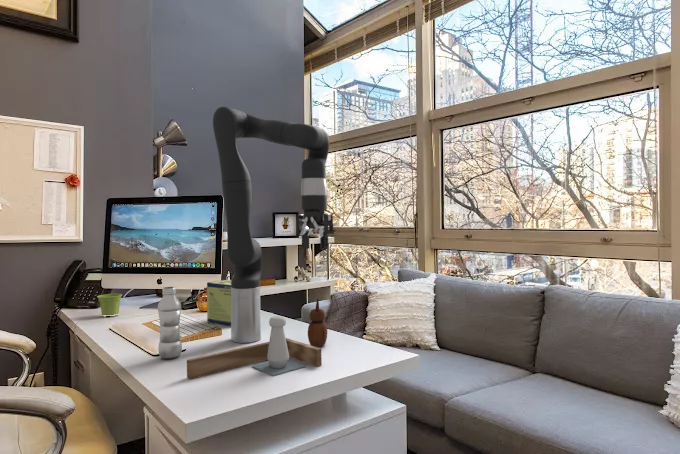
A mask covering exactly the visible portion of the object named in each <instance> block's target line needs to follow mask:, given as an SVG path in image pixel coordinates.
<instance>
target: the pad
mask: <svg viewBox="0 0 680 454" xmlns="http://www.w3.org/2000/svg"><path fill="white" fill-rule="evenodd" d="M251 368H253V369H255V370H257V371H259V372H263V373H265V374H267V375H270V376H272V377H275V376H279V375H283V374H286V373H290V372H293V371H296V370H299V369H303V368H306V366H305V365H304V364H300V363H297V362H295V361H292V360H290V359H289V360H288V362H287V364H286V366H285V367H283V368H280V369H279V368H272V367H270V365H269V362H268V361H265V362H263V363H262V362H261V363H259V364H254V365H251Z"/></svg>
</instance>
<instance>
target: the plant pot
mask: <svg viewBox="0 0 680 454" xmlns="http://www.w3.org/2000/svg"><path fill="white" fill-rule="evenodd" d="M122 296H123V294H122V293H108V294H100V295H97V296H96V297H97V299H98V301H99V305H100V310H101V316H102V315H114V314H118V313H120V306H121V305H120V304H121V300H122Z"/></svg>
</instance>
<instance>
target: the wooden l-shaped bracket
mask: <svg viewBox="0 0 680 454" xmlns="http://www.w3.org/2000/svg"><path fill="white" fill-rule="evenodd" d="M285 338H286V343H287V348H288V353H289V358H290V359H294V360H297V361H299V362H303V363H306V364H307V365H308V364H309V365H311V366H314V367H316V368H318V367H321V366H322V364H323V363H322V360H323V359H322V348H320V347H314V346H312V345H311V344H307V343H305V342H300V341H297V340H295V339H290V338H287V337H285ZM268 347H269V341H266V342H261V343H257V344H252V345H247V346H243V347H239V348H234V349H230V350H224V351H221V352H216V353H210V354H207V355H202V356H197V357H193V358H189V359H188V358H187V359H186V378H187V379H188V380H194V379H196V378H201V377H206V376H208V375H209V376H210V375H212V374H216V373H221V372H225V371H228V370H233V369H236V368H240V367H244V366H248V365H253V364H257V363H262V362H264V361H265V362H266V361H268V360H267V354H268Z"/></svg>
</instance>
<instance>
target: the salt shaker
mask: <svg viewBox="0 0 680 454" xmlns="http://www.w3.org/2000/svg"><path fill="white" fill-rule="evenodd" d="M286 322H287V321H286V317H284V316H280V315H276V316H275V315H274V316H272V317H270V318H269V321H268V324H269V326H270V327H271V329H270V335H269V341H268V342H269V347H268V354H267V360H266V361H267V362H269V365H270V367H272V368H279V369H280V368H283V367H285V366H286V364H287V362H288V360H290V357H289V353H288V348H287V343H286V338H287V337H286V334H285V328H284V327H285V326H286Z"/></svg>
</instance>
